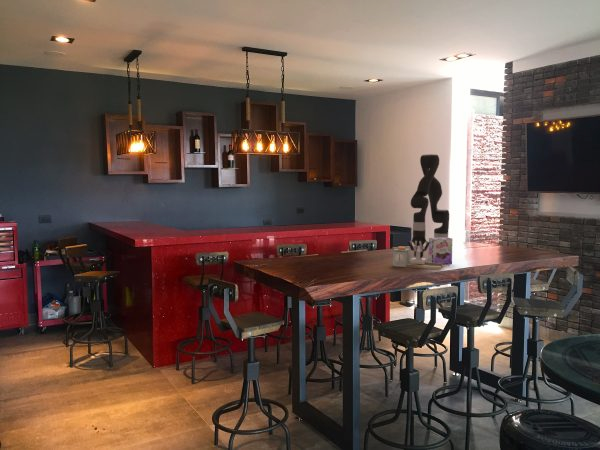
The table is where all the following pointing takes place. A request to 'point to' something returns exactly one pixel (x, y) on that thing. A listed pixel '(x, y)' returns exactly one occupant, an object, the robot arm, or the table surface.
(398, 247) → the button
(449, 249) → the candy box
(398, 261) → the gauge cabinet
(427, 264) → the rail board
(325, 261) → the table surface
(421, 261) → the carriage
